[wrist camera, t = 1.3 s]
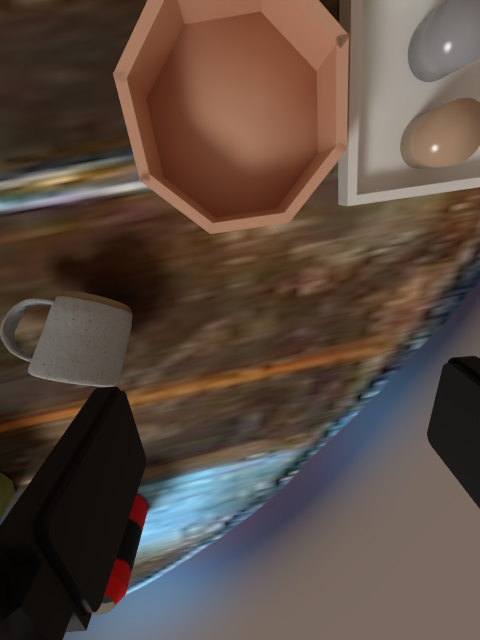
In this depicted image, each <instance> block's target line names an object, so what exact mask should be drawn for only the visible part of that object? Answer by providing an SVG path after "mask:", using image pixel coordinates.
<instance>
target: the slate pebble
mask: <svg viewBox="0 0 480 640" xmlns="http://www.w3.org/2000/svg"><path fill="white" fill-rule="evenodd" d="M478 59H480V0H445V1H444V2H442V3H441V4H440V5H439V6H438V7H437V8H436V9H435V10H433V11H432V12H431V13H430V14H429V15H428V16H427V17H425V18H424V19H423V20H422V21H421V22H420V24H419V25H418V26H417V28H416V29H415V31H414V33H413V35H412V37H411V40H410V43H409V47H408V63H409V67H410V70H411V72H412V73H413V75H414V76H415V77H416V78H417V79H419V80H421V81H423V82H434V81H437V80H440V79H442V78H443V77H445V76H447V75H449V74H451V73H453V72H455V71H457V70H459V69H461V68H463V67H465V66H466V65H468V64H470V63H472V62H474V61H476V60H478Z"/></svg>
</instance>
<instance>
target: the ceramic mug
mask: <svg viewBox="0 0 480 640" xmlns="http://www.w3.org/2000/svg"><path fill="white" fill-rule="evenodd" d="M36 305H52V307H51V309H50V311H49V314H48V318H47V321H46V324H45V327H44V330H43V332H42V334H41V337H40V339H39V342H38V344H37V347H36V350H35V353H34V355H33V356H31V355H29V354H27V353H25V352H24V351H22V350H21V349H20V348H19V347H18V346H17V345H16V344H15V342H14V332H15V329H16V327H17V325H18V323H19V321H20V319H21V318H22V317H23V316H24V314H25V310H27V309H28V308H30V307H33V306H36ZM131 327H132V311H131V309H130V308H129V307H128V306H127V305H125V304H123V303H120V302H118V301H115V300H112V299H108V298H105V297H102V296H98V295H93V294H89V293H84V292H77V291H64V292H62V293H60V294H59V295H58V296H57V298H56V299H55V301H53V300H49V299H40V298H34V299H27V300H24V301H22V302H20V303H18V304H16V305H15V306H13V307H12V308H11V309H10V310H9V312H8V313H7V314H6V316H5V318H4V320H3V322H2V325H1V330H0V335H1V339H2V341H3V343H4V345H5V346H6V348H7V349H8V350H9V351H10V352H12V353H13V354H15V355H16V356H18V357H19V358H22V359H24V360H26V361H30V362H31V363H30V366H29V369H28V372H29V373H30V374H31V375H33V376H36V377H40V378H44V379H48V380H54V381H59V382H65V383H72V384H82V385H91V386H100V387H110V386H116V385H118V383H119V381H120V376H121V371H122V367H123V362H124V358H125V354H126V348H127V344H128V339H129V335H130V331H131Z"/></svg>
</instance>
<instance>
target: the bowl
mask: <svg viewBox="0 0 480 640" xmlns="http://www.w3.org/2000/svg"><path fill="white" fill-rule="evenodd" d="M348 53H349V34H347V32H346V31H345V30H344V29H343V28H342V27H341V25H340V24H339V23H338V22H337V21H336V20H335V18H334V17H333V16H332V15H331V14H330V13H329V11H328V10H327V9H326V8H325V7H324V6H323V4H322V3H321V2H320V1H319V0H148V1H147V3H146V5H145V7H144V9H143V11H142V14H141V16H140V18H139V20H138V22H137V24H136V26H135V28H134V31H133V33H132V35H131V37H130V39H129V41H128V43H127V46H126V48H125V50H124V52H123V54H122V56H121V58H120V61H119V63H118V65H117V67H116V69H115V71H114V72H113V76H114V79H115V83H116V87H117V91H118V95H119V99H120V102H121V106H122V110H123V114H124V118H125V122H126V126H127V130H128V134H129V138H130V142H131V146H132V150H133V154H134V158H135V162H136V166H137V170H138V174H139V178H140V182H143V183H144V184H145V185H147V186H148V187H149V188H150V189H152V190H153V191H154V192H156V193H157V194H158V195H160V196H161V197H162V198H164V199H165V200H166V201H168V202H169V203H170V204H172V205H173V206H174V207H176V208H177V209H178V210H180V211H181V212H182V213H183V214H185V215H186V216H187V217H189V218H190V219H191V220H193V221H194V222H195V223H197V224H198V225H199V226H201V227H202V228H203V229H205V230H206V231H207V232H209V234H213V233H220V232H227V231H234V230H241V229H248V228H255V227H262V226H269V225H276V224H283V223H290V221H291V220H292V218H293V217H294V216H295V215H296V213H297V212H298V211H299V210H300V208H301V207H302V206H303V204H304V203H305V202H306V201H307V199H308V198H309V197H310V196H311V194H312V193H313V192H314V191H315V189H316V188H317V187H318V185H319V184H320V183H321V182H322V180H323V179H324V178H325V177H326V175H327V174H328V173H329V171H330V170H331V169H332V168H333V166H334V165H335V164H336V163H337V161H338V160H339V159H340V158H341V156H342V155H343V154H344V152H345V151H347V149H348V148H347V114H348Z"/></svg>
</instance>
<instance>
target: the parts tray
mask: <svg viewBox="0 0 480 640" xmlns="http://www.w3.org/2000/svg"><path fill="white" fill-rule="evenodd" d="M444 1H445V0H339V24H340V25H341V27H342V28H343V29H344V30H345V31H346V32H347V34H349V53H348V114H347V148H348V149H347V151H345V152H344V154H343V155H342V156H341V158H340V159H339V160H338V205H344V206H352V205H359V204H366V203H373V202H379V201H386V200H393V199H400V198H407V197H414V196H421V195H428V194H435V193H442V192H449V191H456V190H463V189H469V188H476V187H480V146H479V148H478V149H477V150H476V151H475V153H474V154H473V155H472V156H471V157H469V158H468V159H467V160H465V161H464V162H462V163H460V164H457V165H453V166H443V167H433V168H423V169H415V168H412V167H410V166H408V165H407V164H406V163H405V162H404V160H403V158H402V156H401V152H400V143H401V138H402V135H403V132H404V130H405V129H406V127H407V125H408V124H409V123H410V122H411V121H412V120H413V119H414V118H415V117H416V116H418V115H419V114H421V113H423V112H426V111H429V110H431V109H434V108H436V107H439V106H441V105H444V104H446V103H449V102H451V101H454V100H456V99H460V98H473V99H475V100H477V101H479V102H480V59H478V60H476V61H474V62H472V63H470V64H468V65H466V66H465V67H463V68H461V69H459V70H457V71H455V72H453V73H451V74H449V75H447V76H445V77H443V78H442V79H440V80H437V81H434V82H423V81H421V80H419V79H417V78H416V77H415V76H414V75H413V73H412V72H411V70H410V67H409V63H408V47H409V43H410V40H411V37H412V35H413V33H414V31H415V29H416V28H417V26H418V25H419V24H420V22H421V21H422V20H423V19H424V18H425V17H427V16H428V15H429V14H430V13H431V12H432V11H433V10H435V9H436V8H437V7H438V6H439V5H440V4H441V3H442V2H444Z"/></svg>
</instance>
